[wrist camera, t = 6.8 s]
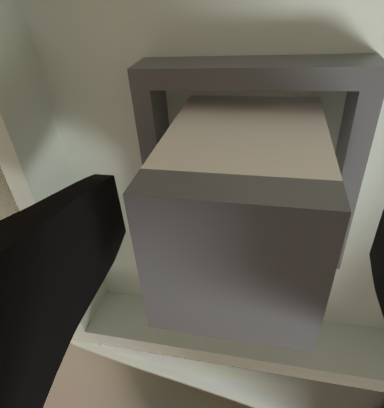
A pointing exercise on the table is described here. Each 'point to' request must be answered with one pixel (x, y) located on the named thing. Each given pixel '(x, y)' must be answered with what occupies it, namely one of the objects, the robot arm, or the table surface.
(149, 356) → the table surface
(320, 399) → the table surface
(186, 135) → the tan and grey block
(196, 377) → the table surface
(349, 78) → the walled box
